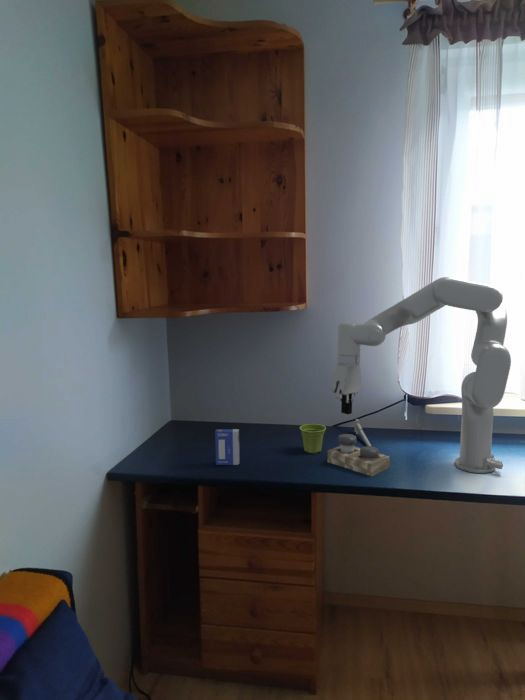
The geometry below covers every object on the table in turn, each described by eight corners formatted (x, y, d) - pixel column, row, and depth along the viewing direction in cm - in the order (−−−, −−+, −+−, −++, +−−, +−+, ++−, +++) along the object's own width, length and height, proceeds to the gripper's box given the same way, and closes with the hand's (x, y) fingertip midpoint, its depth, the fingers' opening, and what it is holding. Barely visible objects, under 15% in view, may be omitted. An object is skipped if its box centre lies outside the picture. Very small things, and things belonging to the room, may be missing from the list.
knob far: (359, 454, 181) (360, 436, 180) (348, 459, 177) (349, 440, 176) (345, 450, 186) (345, 432, 185) (334, 454, 182) (334, 436, 181)
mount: (389, 468, 176) (389, 456, 175) (371, 476, 169) (371, 464, 168) (345, 454, 188) (345, 443, 188) (327, 461, 182) (327, 450, 181)
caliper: (354, 433, 213) (354, 418, 213) (357, 433, 214) (357, 418, 213) (369, 450, 193) (370, 433, 192) (372, 450, 194) (373, 433, 193)
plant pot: (326, 455, 188) (326, 431, 186) (299, 454, 189) (299, 431, 187) (325, 446, 197) (325, 424, 196) (299, 446, 198) (299, 423, 197)
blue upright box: (215, 465, 180) (215, 430, 178) (216, 462, 182) (215, 428, 181) (239, 465, 180) (238, 430, 178) (239, 462, 182) (239, 428, 180)
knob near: (382, 468, 175) (382, 449, 174) (371, 472, 171) (371, 453, 170) (366, 463, 180) (367, 445, 179) (356, 468, 175) (356, 449, 174)
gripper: (352, 355, 184) (350, 407, 187) (325, 360, 174) (323, 415, 177) (371, 358, 179) (368, 411, 182) (343, 363, 169) (341, 419, 171)
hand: (346, 413), depth 179 cm, fingers closed
